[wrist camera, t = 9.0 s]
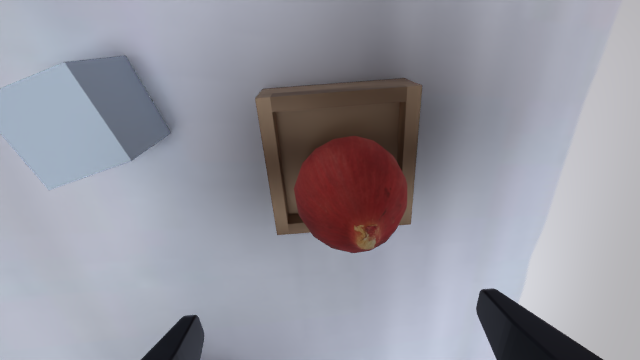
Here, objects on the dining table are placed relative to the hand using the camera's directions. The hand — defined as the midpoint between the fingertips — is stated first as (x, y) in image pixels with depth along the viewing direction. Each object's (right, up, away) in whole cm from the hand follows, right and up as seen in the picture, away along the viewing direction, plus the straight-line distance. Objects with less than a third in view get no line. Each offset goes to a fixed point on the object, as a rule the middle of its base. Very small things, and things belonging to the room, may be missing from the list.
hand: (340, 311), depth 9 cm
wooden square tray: (0, +6, +12) cm, 13 cm away
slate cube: (-14, +9, +9) cm, 19 cm away
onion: (0, +5, +10) cm, 11 cm away
